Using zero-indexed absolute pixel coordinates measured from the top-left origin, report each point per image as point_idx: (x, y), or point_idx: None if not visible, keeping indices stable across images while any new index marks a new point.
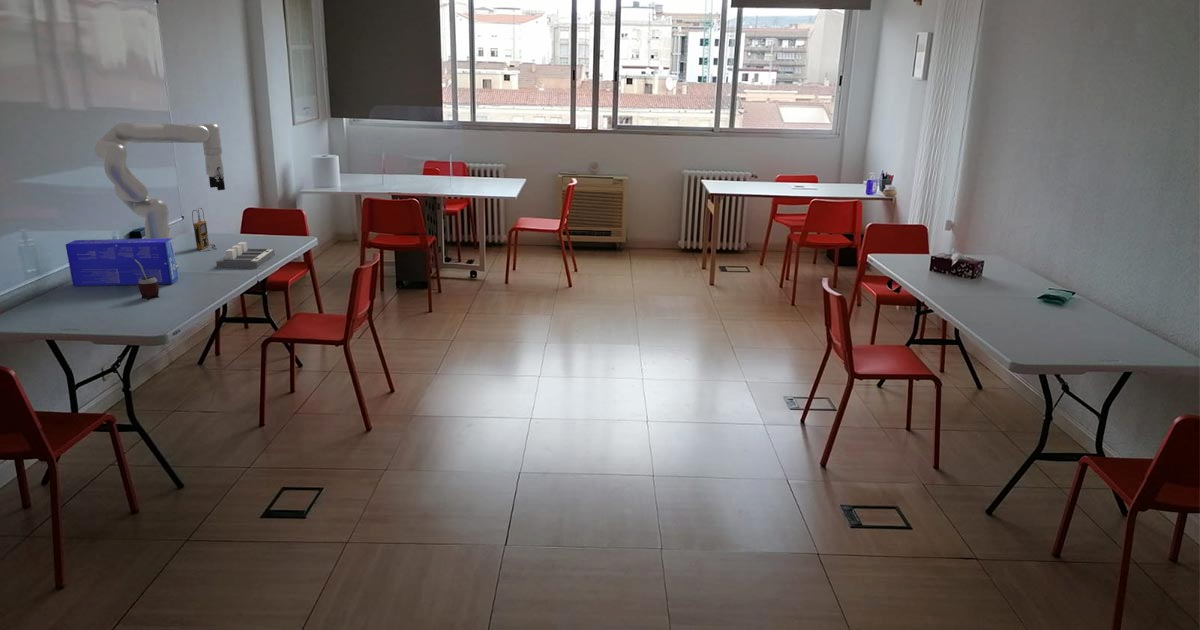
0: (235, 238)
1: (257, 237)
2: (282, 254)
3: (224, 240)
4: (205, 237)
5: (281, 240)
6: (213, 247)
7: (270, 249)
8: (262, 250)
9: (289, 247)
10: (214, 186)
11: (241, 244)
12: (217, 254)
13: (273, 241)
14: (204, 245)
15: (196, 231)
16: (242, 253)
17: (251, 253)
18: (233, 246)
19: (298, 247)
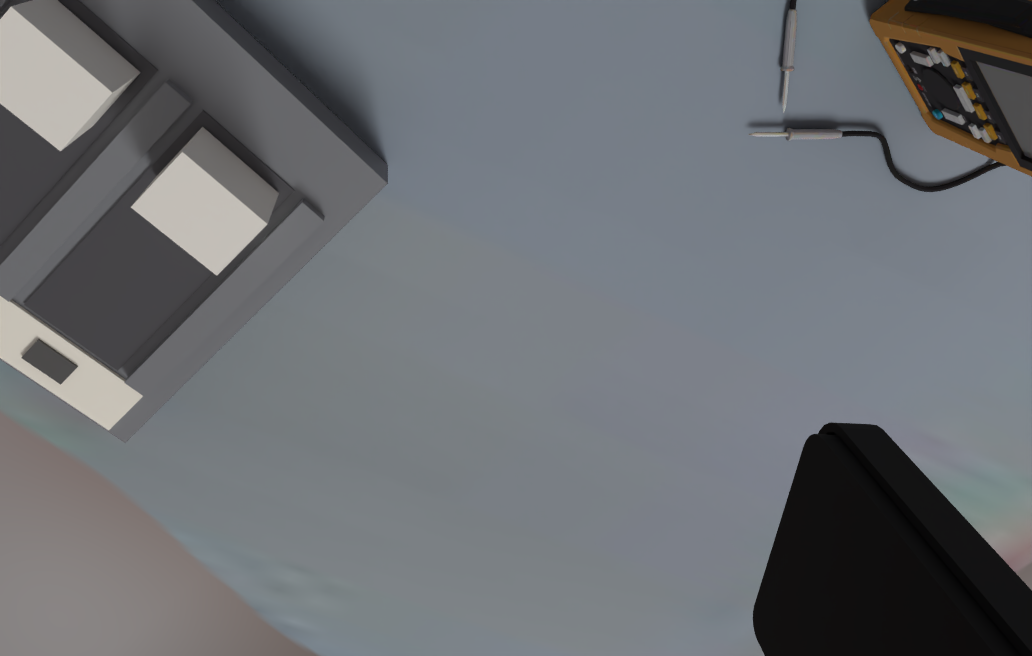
0: (1006, 427)
1: None
2: (146, 471)
3: (1023, 334)
4: (976, 118)
5: (650, 638)
6: (837, 131)
7: (147, 419)
8: (138, 346)
9: (371, 598)
10: (784, 554)
11: (148, 187)
12: (562, 36)
13: (666, 588)
14: (911, 67)
15: (1010, 6)
16: (114, 137)
17: (54, 208)
18: (52, 52)
19: (323, 642)
